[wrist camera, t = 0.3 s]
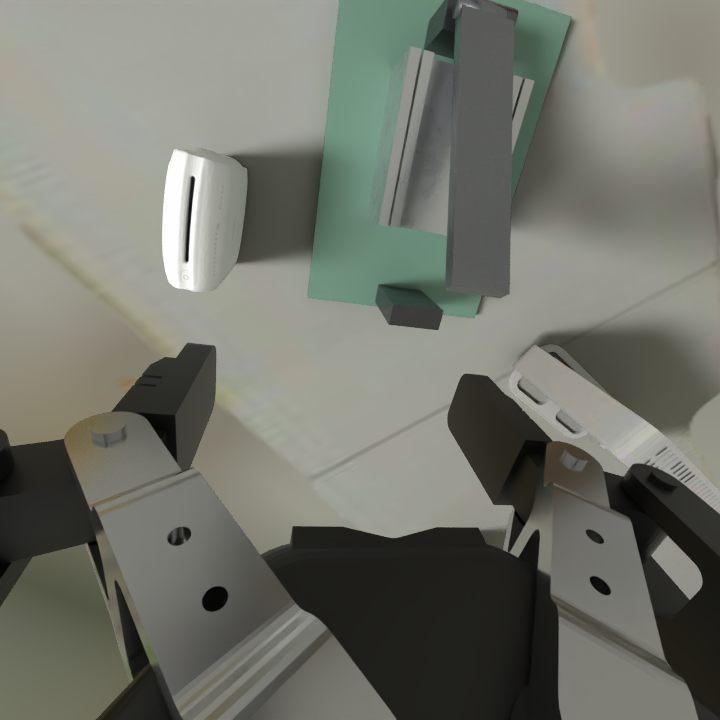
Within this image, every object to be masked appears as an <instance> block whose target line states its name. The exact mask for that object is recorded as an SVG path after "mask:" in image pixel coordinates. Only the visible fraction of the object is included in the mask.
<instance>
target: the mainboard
mask: <svg viewBox="0 0 720 720" xmlns="http://www.w3.org/2000/svg"><path fill="white" fill-rule="evenodd" d="M490 1H493V2H497V3H500V4H503V5H506V6H509V7H512V8H515V9H518V18H517V22H516V24H515V27H514V54H513V75H516V76H519V77H523V79H525V78H526V79H530V80H533V81H534V84H533V88H532V91H531V94H530V98H529V101H528V104H527V107H526V111H525V114H524V117H523V121H522V124H521V127H520V130H519V134H518V137H517V140H516V143H515V147H514V150H513V153H512V170H511V203H512V200H513V197H514V194H515V191H516V187H517V184H518V181H519V178H520V175H521V172H522V169H523V166H524V163H525V159H526V156H527V153H528V150H529V147H530V144H531V141H532V138H533V134H534V131H535V128H536V125H537V122H538V119H539V116H540V113H541V110H542V106H543V103H544V100H545V97H546V94H547V91H548V88H549V85H550V81H551V78H552V75H553V72H554V69H555V66H556V63H557V60H558V57H559V53H560V50H561V47H562V44H563V41H564V38H565V35H566V32H567V29H568V25H569V22H570V19H571V16H568V15H565V14H562V13H559V12H556V11H553V10H550V9H547V8H544V7H541V6H538V5H535V4H532V3H529V2H526V1H523V0H490ZM443 2H444V0H339V9H338V19H337V28H336V37H335V46H334V56H333V65H332V74H331V84H330V93H329V102H328V111H327V121H326V130H325V139H324V148H323V158H322V167H321V176H320V185H319V195H318V204H317V213H316V223H315V232H314V241H313V250H312V260H311V269H310V278H309V287H308V298H313V299H321V300H329V301H337V302H345V303H353V304H362V305H370V306H377V304H376V303H375V299H376V294H377V289H378V284H379V285H386V286H394V287H401V288H408V289H416V290H421V291H422V292H424V293H425V294H426V295H427V296H428V297H429V298H430V299H431V300H432V301H434V302H435V303H436V304H437V305H438V306H439V307H440V308H441V309H443V310H444V311H443V315H451V316H459V317H467V318H475V315H476V312H477V309H478V306H479V303H480V300H481V297H482V296H481V295H474V294H467V293H460V292H452V291H445V274H446V248H447V235H442V234H436V233H430V232H425V231H419V230H413V229H407V228H401V227H399V228H396V227H390V226H385V225H379V224H377V223H375V222H373V221H371V220H369V219H367V213H368V207H369V201H370V195H371V189H372V183H373V177H374V171H375V165H376V159H377V152H378V146H379V140H380V134H381V128H382V122H383V116H384V110H385V104H386V98H387V92H388V86H389V80H390V73H391V71H392V70H393V68H394V67H395V66H396V65H397V63H398V62H399V61H400V59H401V58H402V57H403V56H404V54H405V53H406V52H407V50H408V49H409V48H410V46H413V47H416V48H420V49H421V53H422V52H423V49H424V44H425V39H426V34H427V28H428V23H429V20H430V19H431V17H432V16H433V15H434V13H435V12H436V11H437V10H438V8H439V7H440V6H441V4H442V3H443ZM433 59H435V60H438V61H442V62H446V63H449V64H453V65H454V59H451V58H447V57H444V56H440V55H436V54H434V58H433Z"/></svg>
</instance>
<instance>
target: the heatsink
mask: <svg viewBox="0 0 720 720" xmlns="http://www.w3.org/2000/svg"><path fill="white" fill-rule="evenodd" d="M454 3H455V0H444V2H443V3H442V4H441V6H440V7H439V8H438V10H437V11H436V12H435V13H434V15H433V16H432V17H431V19H430V20H429V23H428V28H427V34H426V39H425V44H424V49H423V52H422V53H421V49H420V48H416V47H413V46H410V48H409V49H408V50H407V52H406V53H405V54H404V56H403V57H402V58H401V59H400V61H399V62H398V63H397V65H396V66H395V67H394V68H393V70H392V71H391V73H390V80H389V86H388V92H387V98H386V104H385V110H384V116H383V122H382V128H381V134H380V140H379V146H378V152H377V159H376V165H375V171H374V177H373V183H372V189H371V195H370V201H369V207H368V213H367V219H369V220H371V221H373V222H375V223H377V224H379V225H385V226H390V227H396V228H399V227H401V228H407V229H413V230H419V231H425V232H430V233H436V234H442V235H447V223H448V197H449V172H450V147H451V121H452V96H453V70H454V65H453V64H449V63H446V62H442V61H438V60H435V59H433V58H434V54H436V55H440V56H444V57H447V58H451V59H454V45H455V19H453V18H452V11H453V6H454ZM533 84H534V81H533V80H530V79H526V78H525V79H523V77H519V76H516V75H513V112H512V153H513V150H514V147H515V143H516V140H517V137H518V134H519V130H520V127H521V124H522V121H523V117H524V114H525V111H526V107H527V104H528V101H529V98H530V94H531V91H532V88H533ZM375 303H376V304H377V306H378V307H379V309H380V311H381V312H382V314H383V316H384V317H385V319H386V320H387V322H388V324H389V325H398V326H407V327H415V328H424V329H433V330H438V329H439V325H440V322H441V318H442V315H443V311H444V310H443V309H441V308H440V307H439V306H438V305H437V304H436V303H435V302H434V301H432V300H431V299H430V298H429V297H428V296H427V295H426V294H425V293H424V292H422V291H421V290H416V289H408V288H401V287H394V286H386V285H379V284H378V289H377V294H376V299H375Z"/></svg>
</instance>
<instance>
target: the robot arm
mask: <svg viewBox="0 0 720 720" xmlns="http://www.w3.org/2000/svg"><path fill="white" fill-rule="evenodd" d="M215 391H216V347H215V346H213V345H203V344H194V343H187V344H186V345H185V347H184V348H183V349H182V351H181V352H180V354H179V355H178V356H177V358H170V357H165V358H163V359H161V360H159V361H157V362H155V363H153V364H151V365H150V366H149V367H148V368H147V369H146V371H145V372H144V373H143V374H142V377H140V378H139V379H138V380H137V381H136V383H135V385H133V386H132V387H131V389H130V390H129V391H128V392H127V393H126V395H125V396H124V397H123V398H122V399H121V401H120V402H119V403H118V404H117V405H116V407H115V408H114V409H113V410H112V411H111V412H107V413H102V414H98V415H94V416H91V417H89V418H86V419H84V420H82V421H80V422H78V423H77V424H75V425H74V426H73V427H72V428H70V430H69V431H68V432H67V433H66V435H65V438H64V439H61V440H56V441H49V442H41V443H34V444H26V445H19V446H10V444H9V440H8V437H7V434H6V433H5V432H4V431H3V430H1V429H0V606H1V605H2V603H3V602H4V600H5V599H6V597H7V596H8V594H9V593H10V591H11V589H12V588H13V586H14V585H15V583H16V582H17V580H18V579H19V577H20V576H21V574H22V572H23V571H24V569H25V568H26V566H27V565H28V563H29V562H30V560H31V559H32V557H33V556H37V555H41V554H45V553H49V552H53V551H57V550H61V549H65V548H69V547H73V546H77V545H81V544H85V545H86V547H87V550H88V553H89V556H90V559H91V562H92V565H93V567H94V570H95V573H96V576H97V579H98V581H99V584H100V588H101V590H102V593H103V596H104V599H105V602H106V605H107V607H108V610H109V613H110V617H111V620H112V623H113V626H114V630H115V634H116V638H117V642H118V645H119V648H120V652H121V655H122V658H123V662H124V665H125V668H126V671H127V673H128V676H129V679H130V682H131V683H130V684H129V685H128V686H127V687H126V688H125V689H124V690H123V691H122V692H121V693H120V695H119V696H118V697H117V698H116V699H115V700H114V701H113V702H112V703H111V704H110V705H109V706H108V707H107V708H106V709H105V711H104V712H103V713H102V714H101V715H100V716H99V717H98V718H97V719H96V720H720V514H719V513H718V512H717V511H715V510H714V509H713V508H712V507H711V506H709V505H708V504H707V503H706V502H705V501H703V500H702V499H701V498H700V497H699V496H697V495H696V494H695V493H694V492H693V491H691V490H690V489H689V488H688V487H687V486H685V485H684V484H683V483H682V482H680V481H679V480H678V479H676V478H675V477H673V476H671V475H670V474H668V473H666V472H664V471H662V470H660V469H658V468H655V467H653V466H650V465H646V464H641V463H636V464H633V465H632V466H631V467H630V468H629V470H628V471H627V473H626V474H625V476H624V477H622V476H619V475H615V474H611V473H608V472H604V471H603V468H602V466H601V465H600V463H599V462H598V461H597V460H596V459H595V458H594V457H592V456H591V455H590V454H588V453H587V452H585V451H584V450H582V449H580V448H578V447H576V446H574V445H571V444H569V443H565V442H561V441H552V440H551V439H550V438H549V437H548V436H547V435H546V433H545V432H544V431H543V430H542V429H541V428H540V427H539V426H538V425H537V424H536V423H535V422H534V421H533V420H532V419H529V416H528V415H527V414H526V413H525V412H524V411H522V409H521V407H520V406H519V405H518V404H517V403H516V402H515V401H514V400H513V399H511V398H510V397H508V396H507V395H505V394H504V393H503V392H502V391H501V390H500V389H499V388H498V387H497V385H496V384H495V383H494V382H493V381H492V380H491V379H490V378H489V377H488V376H484V375H475V374H464V375H463V376H462V377H461V379H460V381H459V383H458V386H457V389H456V392H455V395H454V398H453V400H452V403H451V406H450V409H449V412H448V427H449V429H450V431H451V433H452V435H453V436H454V438H455V440H456V441H457V443H458V445H459V446H460V448H461V450H462V452H463V453H464V455H465V457H466V458H467V460H468V462H469V463H470V465H471V467H472V469H473V470H474V472H475V474H476V475H477V477H478V479H479V480H480V482H481V484H482V485H483V487H484V489H485V491H486V492H487V494H488V496H489V497H490V499H491V501H492V502H493V504H494V505H513V507H514V508H513V510H512V512H511V514H510V516H509V520H508V525H507V531H506V536H505V542H504V547H503V550H502V549H500V548H497V547H494V546H491V545H488V544H486V542H485V540H484V538H483V536H482V534H481V532H480V530H479V528H444V527H436V528H433V529H429V530H425V531H422V532H418V533H414V534H410V535H407V536H403V537H399V538H388V537H383V536H379V535H375V534H371V533H367V532H362V531H358V530H354V529H350V528H345V527H302V526H296V527H295V526H293V529H292V535H291V541H290V544H286V545H282V546H279V547H277V548H274V549H272V550H269V551H267V552H265V553H263V554H261V555H260V554H259V553H258V551H257V550H256V548H255V547H254V546H253V544H252V543H251V541H250V540H249V539H248V537H247V536H246V535H245V533H244V532H243V530H242V529H241V528H240V526H239V525H238V524H237V522H236V521H235V519H234V518H233V517H232V515H231V514H230V513H229V511H228V510H227V508H226V507H225V506H224V504H223V503H222V502H221V500H220V499H219V497H218V496H217V495H216V493H215V492H214V491H213V489H212V488H211V486H210V485H209V484H208V482H207V481H206V480H205V478H204V477H203V475H202V474H201V473H200V472H199V471H198V470H197V469H196V468H190V466H191V464H192V461H193V459H194V456H195V454H196V451H197V448H198V446H199V443H200V441H201V438H202V436H203V433H204V431H205V428H206V425H207V423H208V421H209V418H210V416H211V413H212V410H213V406H214V401H215ZM667 535H668V536H669V537H670V538H671V539H672V540H673V541H674V542H675V543H676V544H677V545H678V546H679V548H680V549H681V550H682V551H683V552H684V553H685V554H686V555H687V556H688V557H689V558H690V559H691V560H692V561H693V562H694V563H695V564H696V565H697V567H698V568H699V570H700V572H701V575H702V579H703V584H702V588H701V589H700V590H699V591H698V592H697V594H696V595H695V596H694V597H693V598H692V599H691V600H689V599H688V598H687V597H686V595H685V594H684V593H683V592H682V591H681V590H680V589H679V587H678V586H677V585H676V584H675V583H674V582H673V581H672V579H671V578H670V577H669V576H668V575H667V574H666V573H665V571H664V570H663V569H662V568H661V567H660V566H659V565H658V563H657V562H656V561H655V560H654V559H653V558H652V557H651V555H652V553H653V552H654V551H655V550H656V549H657V547H658V546H659V545H660V544H661V542H662V541H663V540H664V539H665V538H666V536H667ZM666 661H667V662H666ZM668 664H669V665H668ZM671 668H672V669H671Z"/></svg>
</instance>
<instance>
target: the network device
mask: <svg viewBox="0 0 720 720" xmlns="http://www.w3.org/2000/svg"><path fill="white" fill-rule="evenodd" d="M549 352H555V353H556V354H557V355H558V356H559V357H560V358H561V359H562V360H563V361H564V362H566V363H567V364H568V365H569V366H570V367H571V368H572V370H571V369H570V368H569V367H567V366H566V365H564V364H563V363H561V362H560V361H558V360H557V359H555V358H554V357H553V356H551V355H550V354H548V353H549ZM512 366H513V367H514V368H515V371H514V372H513V373H512V375H511V377H510V380H509V387H510V390H511V391H512V393H513V394H514V395H515V396H517V397H518V398H519V399H520V400H522V401H523V402H524V403H525V404H527V405H528V406H529V407H530V408H531V409H533V410H534V411H535V412H536V413H538V414H539V415H540V416H541V417H543V418H544V419H545V420H546V421H547V422H549V423H550V424H551V425H552V426H554V427H555V428H556V429H557V430H559V431H560V432H561V433H562V434H564V435H565V436H566V437H568V438H571V439H577V438H581V437H583V436H585V435H587V434H588V433H589V434H591V435H592V436H593V437H594V438H595V439H596V440H598V441H599V443H598V444H599V445H600V446H602V447H603V448H604V449H605V450H606V449H608V450H609V451H610V452H611V453H613V454H614V455H615V456H616V457H617V458H618V459H619V460H621V461H622V462H623V463H624V464H625V465H626V466H628V467H629V468H630V467H631V466H632V465H633V464H636V463H641V464H646V465H650V466H653V467H655V468H658V469H660V470H662V471H664V472H666V473H668V474H670V475H671V476H673V477H675V478H676V479H678V480H679V481H680V482H682V483H683V484H684V485H685V486H687V487H688V488H689V489H690V490H691V491H693V492H694V493H695V494H696V495H697V496H699V497H700V498H701V499H702V500H703V501H705V502H706V503H707V504H708V505H709V506H711V507H712V508H713V509H714V510H715V511H717V512H718V513H719V514H720V491H719V490H718V489H717V488H716V487H715V486H714V485H713V484H712V483H711V482H710V481H709V480H708V479H707V478H706V477H705V476H704V475H703V474H702V473H701V472H700V471H699V470H698V469H697V468H696V467H695V466H694V465H693V464H692V463H691V462H690V461H689V460H688V459H687V458H686V457H685V456H684V455H683V454H682V453H681V452H680V451H679V450H678V449H677V448H676V447H675V446H674V445H673V444H672V443H671V441H670V440H669V439H668V438H666V437H665V436H664V435H663V434H662V433H661V432H660V431H658V430H657V429H656V428H655V427H653V426H652V425H651V424H649V423H648V422H647V421H645V420H644V419H643V418H641V417H640V416H638V415H637V414H635V413H634V412H632V411H631V410H630V409H628V408H627V407H625V406H624V405H622V404H621V403H619V402H618V401H616V400H615V399H614V398H613V397H612V396H611V395H610V394H609V393H608V392H607V391H606V390H605V389H604V388H603V387H602V386H601V385H600V384H599V383H598V382H597V381H596V380H595V379H594V378H593V377H591V376H590V375H589V374H588V373H587V372H586V371H585V370H584V369H583V368H582V367H581V366H580V365H579V364H578V363H577V362H576V361H575V360H574V359H573V358H572V357H571V356H570V355H569V354H568V353H567V352H566V351H565V350H564V349H563V348H561V347H560V346H558V345H554V344H548V345H544V346H541V347H540V348H539V347H538V346H537V345H535V344H534V345H533V346H532V347H531V348H530V349H529V350H528V351H527V352H526V353H525V354H524V355H523V356H522V357H521V358H520V359H519V360H518V361H517V362H515V363H514V364H513V365H512ZM523 376H524V377H525V378H526V379H527V380H528V381H530V382H531V383H532V384H533V385H534V386H535V387H537V388H538V389H539V390H540V391H541V392H542V393H543V394H545V395H546V396H547V397H548V398H546V399H545V400H544V401H542V402H539V403H536V402H534V401H533V400H532V399H530V398H529V397H528V396H527V395H526V394H524V393H523V392H522V391H521V390H520V389H518V387H517V383H518V381H519V380H520V378H521V377H523ZM561 409H562V410H563V411H564V412H565V413H566V414H568V415H569V416H570V417H571V418H572V419H573V420H575V421H576V422H577V423H578V424H579V425H580V426H581V427H582V428H580V429H579V430H578V431H575V432H571V431H569V430H568V429H567V428H565V427H564V426H563V425H562V424H561V423H559V422H558V421H557V420H556V414H557V413H558V412H559V411H560V410H561Z"/></svg>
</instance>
